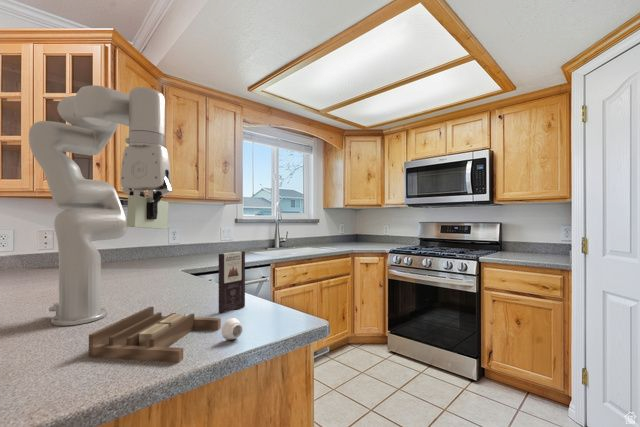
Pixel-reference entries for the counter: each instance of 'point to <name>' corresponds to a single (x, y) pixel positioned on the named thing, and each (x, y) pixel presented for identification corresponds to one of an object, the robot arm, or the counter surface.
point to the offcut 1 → (151, 333)
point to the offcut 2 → (172, 319)
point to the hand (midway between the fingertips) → (147, 218)
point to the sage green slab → (145, 213)
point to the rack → (124, 339)
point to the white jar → (231, 329)
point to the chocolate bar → (231, 281)
